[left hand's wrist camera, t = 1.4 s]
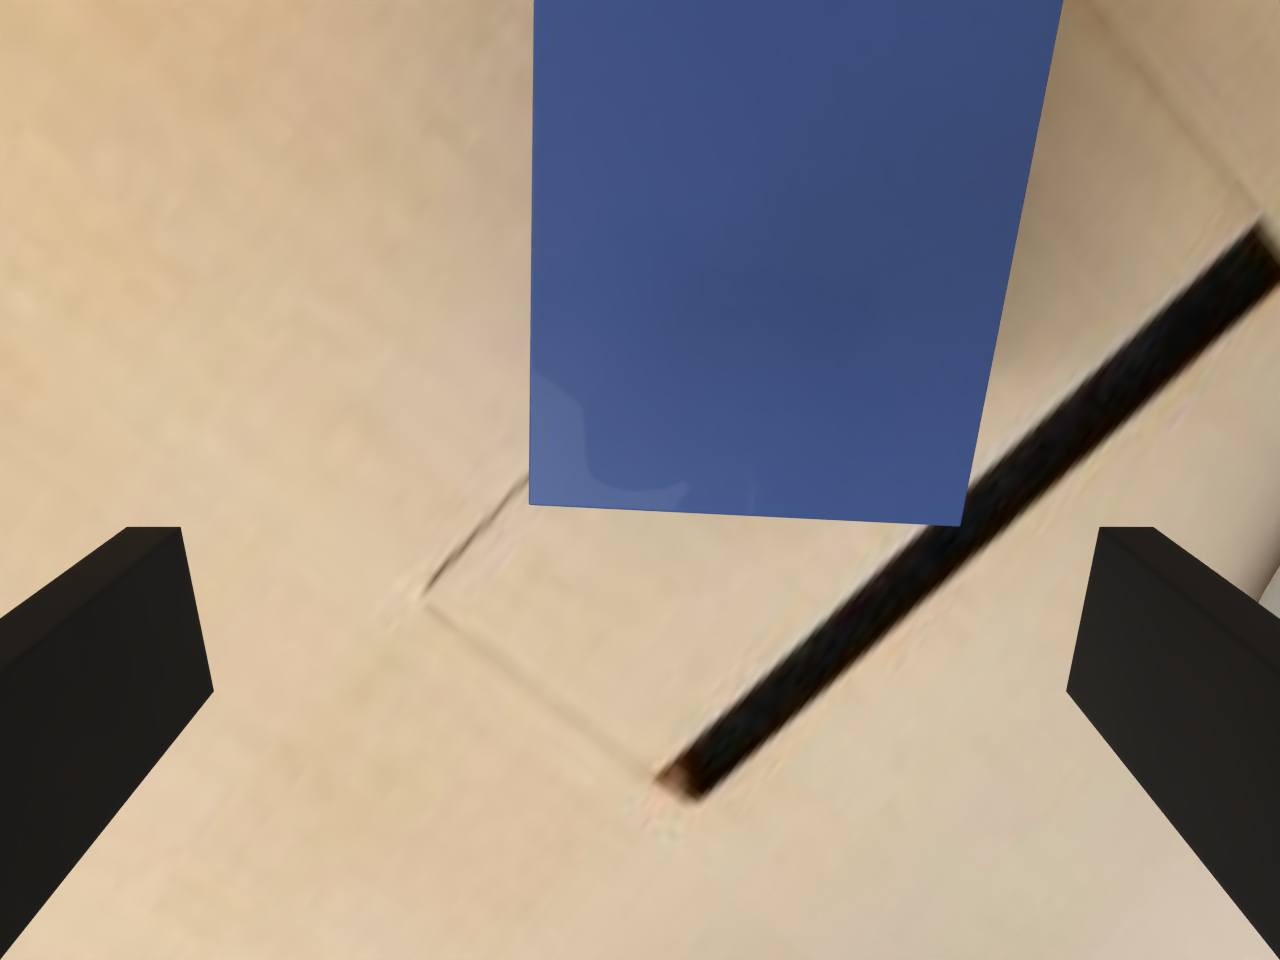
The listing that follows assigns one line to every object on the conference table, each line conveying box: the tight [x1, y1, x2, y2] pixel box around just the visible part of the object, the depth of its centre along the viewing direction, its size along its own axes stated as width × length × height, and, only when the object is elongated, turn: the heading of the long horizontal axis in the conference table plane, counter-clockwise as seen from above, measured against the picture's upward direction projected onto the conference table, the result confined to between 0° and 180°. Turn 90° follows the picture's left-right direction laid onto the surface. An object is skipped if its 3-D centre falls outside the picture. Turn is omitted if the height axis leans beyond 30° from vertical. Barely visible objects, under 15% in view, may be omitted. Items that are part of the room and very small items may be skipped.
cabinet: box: [529, 0, 1063, 526], centre depth 25 cm, size 17×11×12 cm, turn 177°
